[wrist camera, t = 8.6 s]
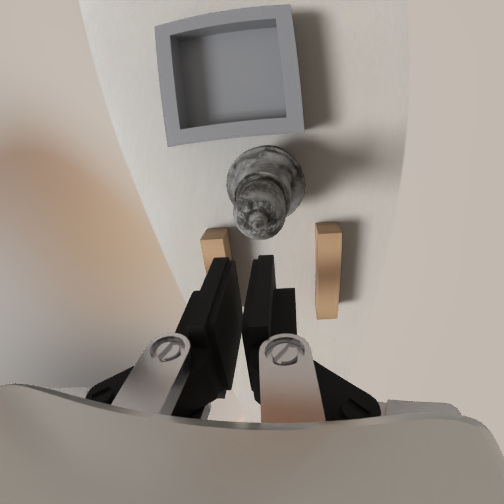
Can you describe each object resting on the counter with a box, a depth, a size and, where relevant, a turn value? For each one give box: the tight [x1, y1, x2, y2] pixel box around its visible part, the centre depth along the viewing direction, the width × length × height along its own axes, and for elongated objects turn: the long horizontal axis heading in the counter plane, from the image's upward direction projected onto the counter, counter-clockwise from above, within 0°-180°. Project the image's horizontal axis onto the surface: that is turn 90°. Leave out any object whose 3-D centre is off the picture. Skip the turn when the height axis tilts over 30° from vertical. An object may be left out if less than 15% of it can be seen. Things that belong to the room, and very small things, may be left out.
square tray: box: [155, 5, 305, 147], centre depth 20 cm, size 10×10×3 cm
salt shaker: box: [226, 146, 305, 240], centre depth 19 cm, size 6×6×12 cm
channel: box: [200, 222, 342, 320], centre depth 28 cm, size 9×12×2 cm
